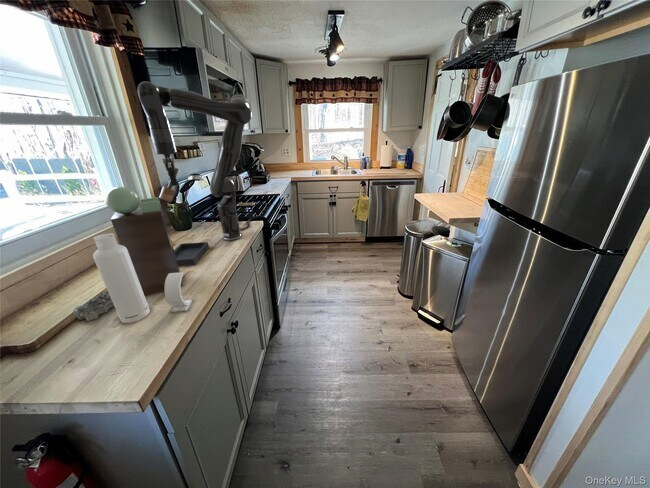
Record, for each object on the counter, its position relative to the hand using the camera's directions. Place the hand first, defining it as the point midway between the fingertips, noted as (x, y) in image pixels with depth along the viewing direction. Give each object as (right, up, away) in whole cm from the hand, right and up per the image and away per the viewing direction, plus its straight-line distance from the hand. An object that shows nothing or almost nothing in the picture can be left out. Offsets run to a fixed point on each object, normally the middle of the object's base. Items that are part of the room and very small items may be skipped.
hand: (174, 184), depth 110 cm
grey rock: (-13, -48, -21) cm, 54 cm away
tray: (-3, -31, +16) cm, 35 cm away
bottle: (+1, -49, -24) cm, 54 cm away
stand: (0, -41, -8) cm, 42 cm away
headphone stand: (+15, -47, -21) cm, 54 cm away
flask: (-1, -14, -20) cm, 24 cm away
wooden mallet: (-3, +1, -2) cm, 4 cm away
